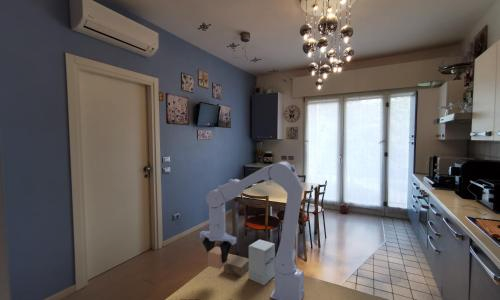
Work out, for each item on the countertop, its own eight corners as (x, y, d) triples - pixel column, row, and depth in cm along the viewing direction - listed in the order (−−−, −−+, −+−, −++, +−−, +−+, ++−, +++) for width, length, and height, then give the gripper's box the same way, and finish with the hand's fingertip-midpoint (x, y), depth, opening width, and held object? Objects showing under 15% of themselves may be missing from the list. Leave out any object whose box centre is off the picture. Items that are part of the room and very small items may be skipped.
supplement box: (264, 286, 83) (264, 250, 82) (248, 278, 87) (247, 245, 87) (275, 276, 89) (275, 243, 88) (259, 269, 93) (259, 238, 93)
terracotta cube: (227, 262, 86) (227, 248, 86) (219, 269, 81) (219, 255, 81) (216, 259, 88) (216, 246, 88) (208, 265, 84) (207, 252, 83)
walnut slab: (250, 268, 94) (250, 259, 94) (241, 277, 88) (240, 267, 88) (233, 263, 98) (233, 254, 98) (223, 272, 92) (223, 262, 92)
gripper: (194, 223, 84) (194, 260, 84) (228, 229, 77) (229, 270, 78) (206, 217, 90) (206, 252, 91) (239, 222, 84) (239, 260, 84)
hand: (217, 259), depth 85 cm, fingers closed on terracotta cube, 5 cm apart
